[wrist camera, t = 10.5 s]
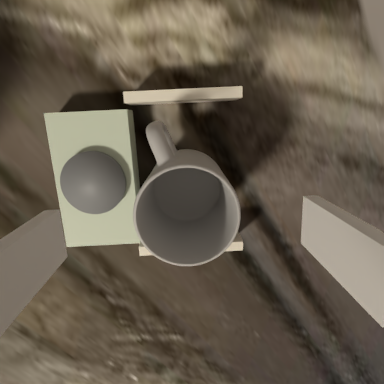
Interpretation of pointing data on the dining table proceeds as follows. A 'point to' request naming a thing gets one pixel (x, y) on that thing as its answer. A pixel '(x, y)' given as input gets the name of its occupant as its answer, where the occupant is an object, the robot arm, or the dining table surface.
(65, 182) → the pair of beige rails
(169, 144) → the mug
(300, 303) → the dining table surface
